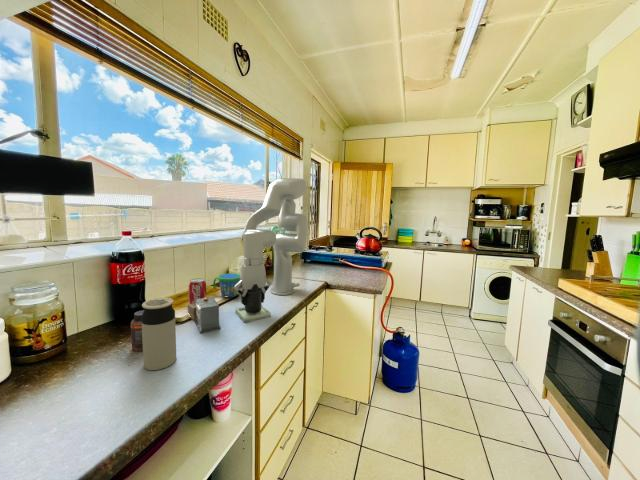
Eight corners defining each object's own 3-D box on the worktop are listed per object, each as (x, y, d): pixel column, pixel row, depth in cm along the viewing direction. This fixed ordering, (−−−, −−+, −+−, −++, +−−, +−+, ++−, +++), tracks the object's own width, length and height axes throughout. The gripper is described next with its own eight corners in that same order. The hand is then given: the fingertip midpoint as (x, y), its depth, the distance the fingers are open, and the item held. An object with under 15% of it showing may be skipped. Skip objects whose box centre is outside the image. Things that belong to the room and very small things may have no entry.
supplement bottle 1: (157, 347, 81) (155, 312, 80) (134, 354, 77) (132, 318, 76) (151, 339, 85) (150, 307, 84) (129, 346, 81) (128, 312, 80)
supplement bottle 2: (251, 306, 113) (251, 279, 111) (264, 308, 110) (265, 281, 109) (241, 311, 106) (241, 283, 105) (255, 314, 104) (255, 286, 102)
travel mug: (158, 374, 69) (156, 309, 66) (136, 367, 71) (133, 305, 69) (182, 357, 76) (181, 299, 74) (161, 352, 79) (159, 295, 76)
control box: (214, 317, 104) (213, 294, 103) (220, 328, 95) (220, 303, 94) (194, 321, 100) (194, 297, 99) (200, 333, 91) (199, 306, 90)
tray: (260, 307, 116) (260, 303, 116) (270, 316, 107) (270, 312, 107) (235, 312, 110) (235, 308, 110) (243, 322, 101) (243, 318, 100)
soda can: (209, 305, 116) (209, 279, 114) (195, 310, 110) (194, 283, 108) (200, 302, 119) (200, 277, 118) (185, 306, 113) (185, 280, 112)
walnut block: (200, 313, 108) (200, 301, 107) (206, 316, 105) (206, 304, 104) (188, 316, 104) (187, 304, 104) (193, 320, 101) (193, 308, 100)
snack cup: (248, 293, 134) (248, 274, 133) (240, 300, 124) (240, 279, 123) (219, 291, 135) (219, 272, 134) (209, 298, 125) (209, 277, 124)
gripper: (269, 258, 114) (269, 296, 116) (229, 261, 104) (229, 303, 106) (276, 261, 107) (276, 302, 110) (234, 265, 98) (234, 310, 100)
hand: (253, 302), depth 108 cm, fingers closed on supplement bottle 2, 6 cm apart
